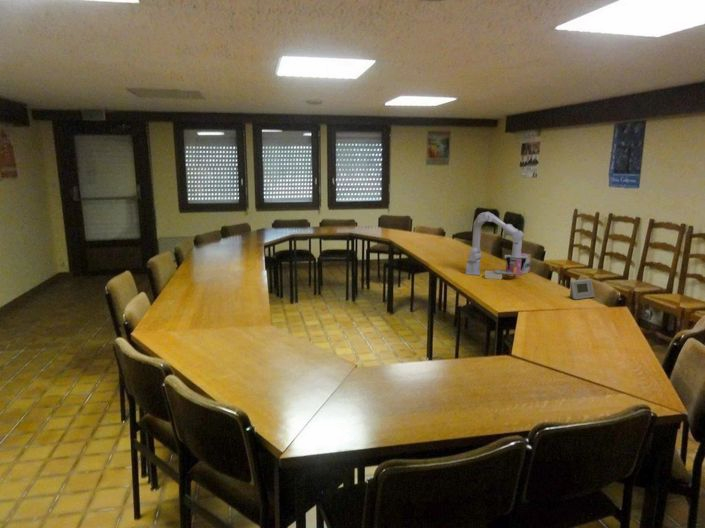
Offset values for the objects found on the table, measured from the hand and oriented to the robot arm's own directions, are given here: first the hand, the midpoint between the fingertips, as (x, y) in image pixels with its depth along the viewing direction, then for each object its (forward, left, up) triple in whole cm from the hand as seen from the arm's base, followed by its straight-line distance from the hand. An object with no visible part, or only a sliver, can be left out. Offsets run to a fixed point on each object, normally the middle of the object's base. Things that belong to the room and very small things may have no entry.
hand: (515, 269), depth 319 cm
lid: (-6, 0, -3) cm, 6 cm away
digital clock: (+36, -35, -7) cm, 51 cm away
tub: (-13, 0, -7) cm, 15 cm away
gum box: (+3, +20, -7) cm, 22 cm away
